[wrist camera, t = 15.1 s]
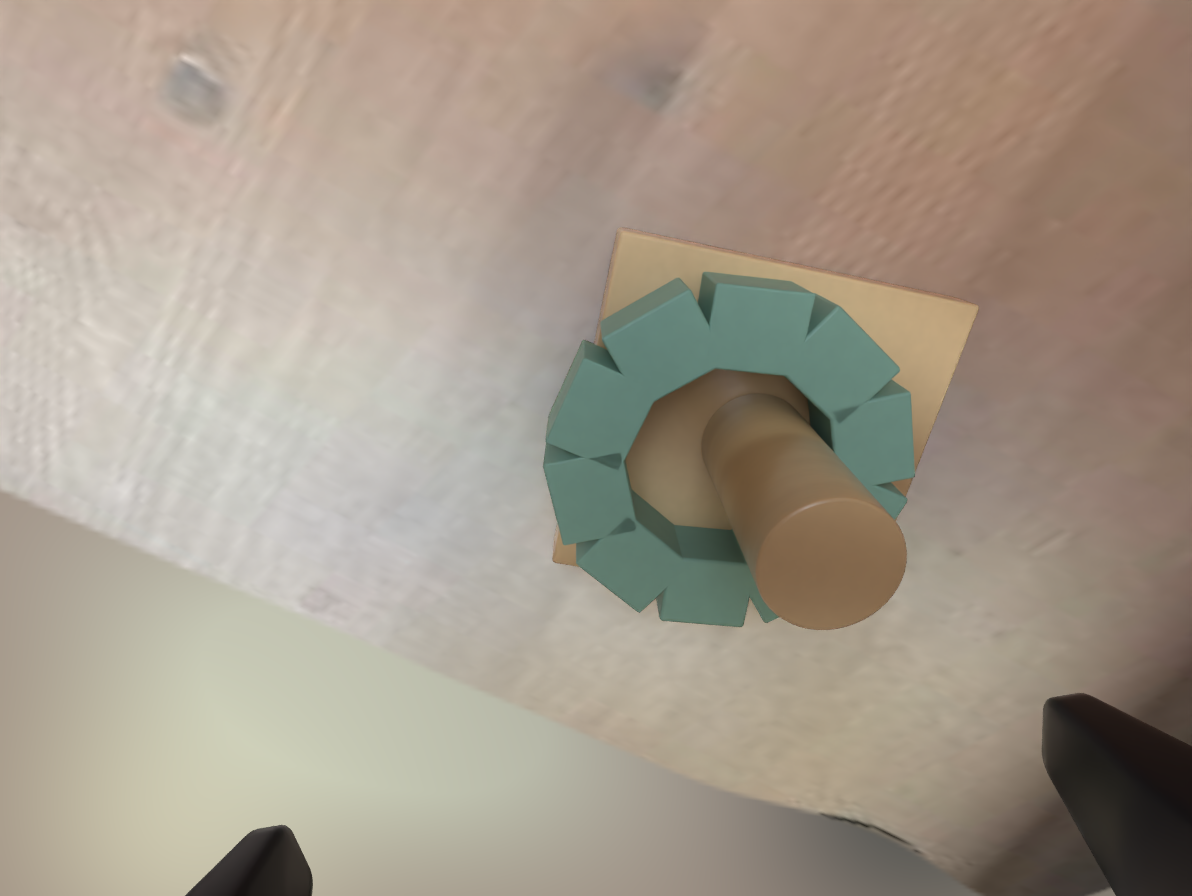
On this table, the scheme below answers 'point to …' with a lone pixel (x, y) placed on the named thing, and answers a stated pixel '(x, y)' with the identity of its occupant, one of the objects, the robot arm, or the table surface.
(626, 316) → the ring
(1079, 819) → the robot arm
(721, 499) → the post
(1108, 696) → the table surface
